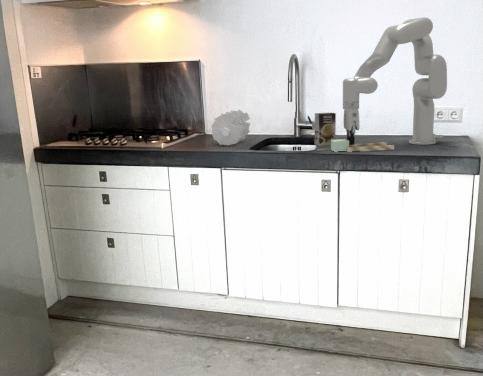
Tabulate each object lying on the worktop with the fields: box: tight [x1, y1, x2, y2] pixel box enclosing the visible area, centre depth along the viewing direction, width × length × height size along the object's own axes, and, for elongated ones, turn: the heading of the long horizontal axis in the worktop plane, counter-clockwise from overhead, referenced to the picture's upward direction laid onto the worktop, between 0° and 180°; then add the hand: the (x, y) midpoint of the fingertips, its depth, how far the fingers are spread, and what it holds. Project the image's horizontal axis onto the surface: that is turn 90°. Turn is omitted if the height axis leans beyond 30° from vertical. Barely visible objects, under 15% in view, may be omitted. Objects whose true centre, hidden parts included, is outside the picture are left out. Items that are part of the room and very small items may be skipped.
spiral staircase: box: [210, 109, 251, 146], centre depth 276 cm, size 18×18×25 cm
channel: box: [347, 141, 395, 153], centre depth 242 cm, size 22×10×2 cm, turn 96°
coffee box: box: [314, 112, 337, 147], centre depth 259 cm, size 9×6×16 cm
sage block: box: [330, 138, 349, 153], centre depth 241 cm, size 7×6×5 cm
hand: (350, 144), depth 241 cm, fingers closed
